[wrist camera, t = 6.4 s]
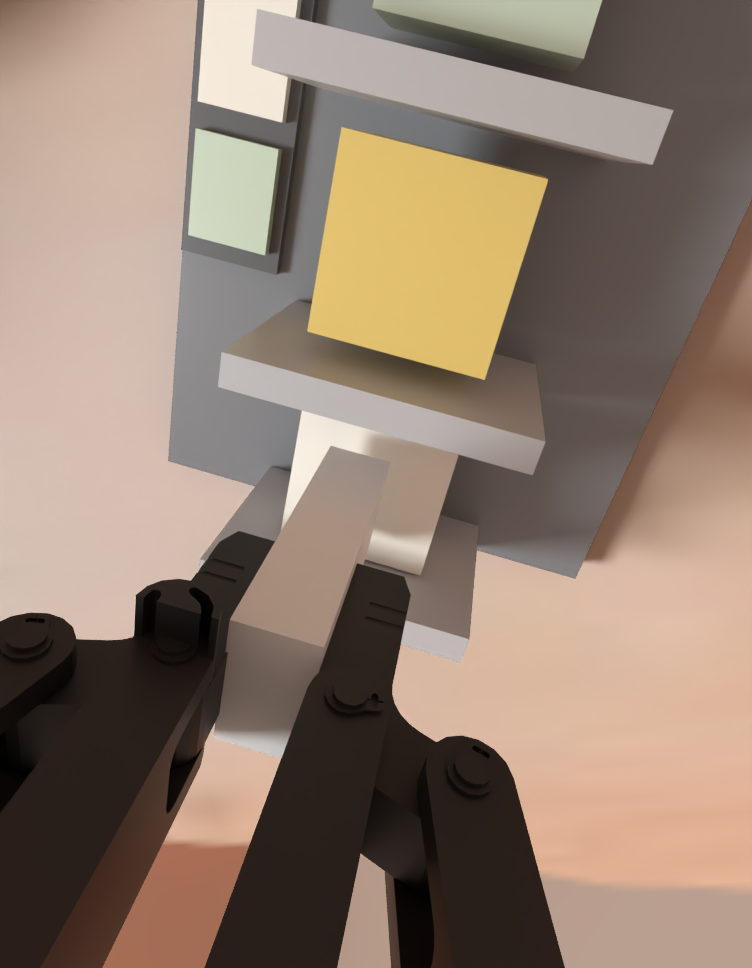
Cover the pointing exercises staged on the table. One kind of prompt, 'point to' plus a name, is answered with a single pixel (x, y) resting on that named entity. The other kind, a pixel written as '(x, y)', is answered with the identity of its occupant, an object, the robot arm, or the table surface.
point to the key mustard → (421, 251)
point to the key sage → (502, 26)
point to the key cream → (406, 493)
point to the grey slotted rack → (539, 286)
